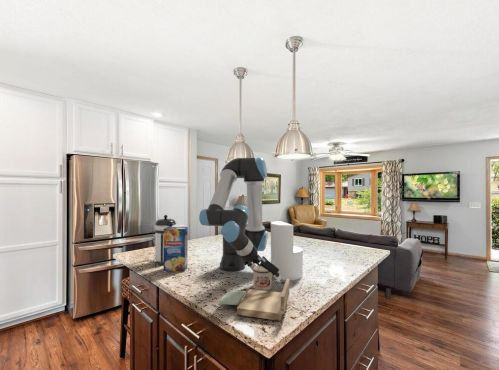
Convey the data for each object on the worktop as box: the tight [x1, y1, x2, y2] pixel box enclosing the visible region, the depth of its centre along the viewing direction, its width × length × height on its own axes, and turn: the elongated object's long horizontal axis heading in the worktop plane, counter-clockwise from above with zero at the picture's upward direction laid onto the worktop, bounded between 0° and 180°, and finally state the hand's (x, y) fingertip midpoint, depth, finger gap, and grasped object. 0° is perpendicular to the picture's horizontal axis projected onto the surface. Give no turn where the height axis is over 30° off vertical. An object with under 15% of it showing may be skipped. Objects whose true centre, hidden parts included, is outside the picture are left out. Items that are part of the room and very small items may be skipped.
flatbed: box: [236, 279, 290, 322], centre depth 97 cm, size 17×18×9 cm
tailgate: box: [218, 289, 247, 306], centre depth 101 cm, size 2×11×8 cm
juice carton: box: [162, 226, 189, 272], centre depth 144 cm, size 12×8×24 cm, turn 92°
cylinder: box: [270, 220, 304, 281], centre depth 137 cm, size 17×17×28 cm
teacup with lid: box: [252, 265, 278, 291], centre depth 118 cm, size 12×9×12 cm
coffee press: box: [152, 214, 177, 266], centre depth 159 cm, size 17×16×30 cm
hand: (268, 275), depth 120 cm, fingers open, 13 cm apart
